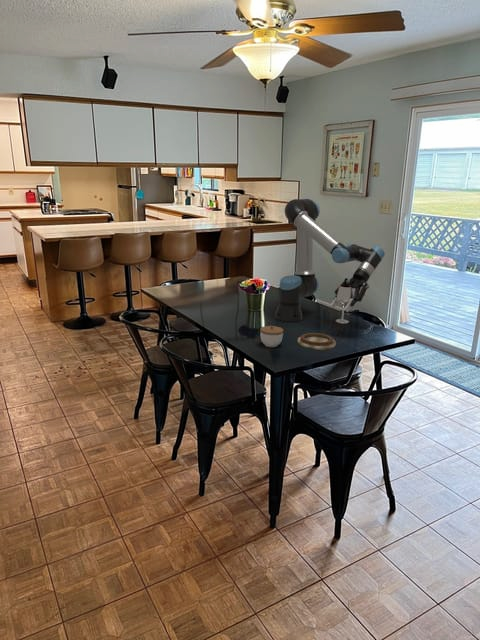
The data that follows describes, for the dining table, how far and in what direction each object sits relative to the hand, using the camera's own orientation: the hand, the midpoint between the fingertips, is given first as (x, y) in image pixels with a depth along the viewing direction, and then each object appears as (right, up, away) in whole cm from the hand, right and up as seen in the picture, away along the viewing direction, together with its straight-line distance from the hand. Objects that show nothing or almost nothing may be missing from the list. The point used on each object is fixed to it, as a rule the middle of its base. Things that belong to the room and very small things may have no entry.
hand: (339, 308), depth 233 cm
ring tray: (-12, -17, -6) cm, 21 cm away
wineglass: (+2, -7, +4) cm, 8 cm away
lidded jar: (-34, -17, -10) cm, 40 cm away
